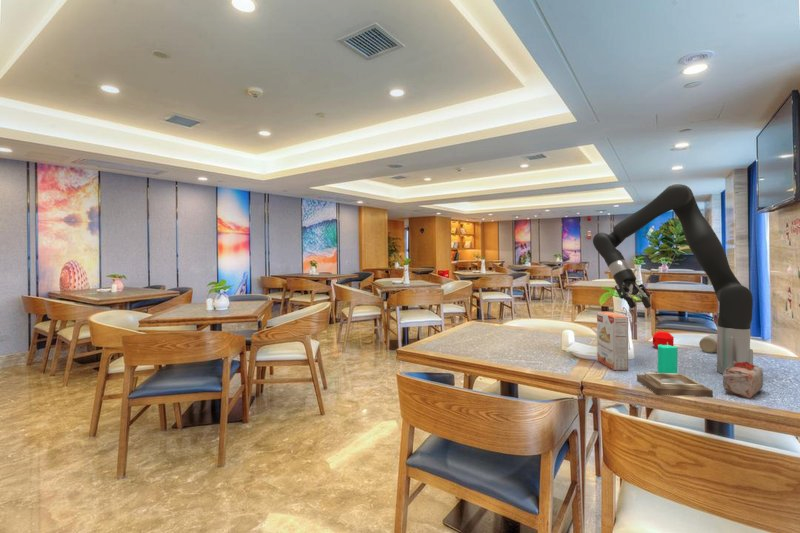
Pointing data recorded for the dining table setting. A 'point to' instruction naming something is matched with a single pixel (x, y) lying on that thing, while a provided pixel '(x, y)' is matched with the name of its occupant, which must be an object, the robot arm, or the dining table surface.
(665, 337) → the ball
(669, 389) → the walnut base board
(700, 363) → the dining table surface
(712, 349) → the beige rounded cylinder
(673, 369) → the candle
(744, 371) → the food item
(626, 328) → the cracker box
